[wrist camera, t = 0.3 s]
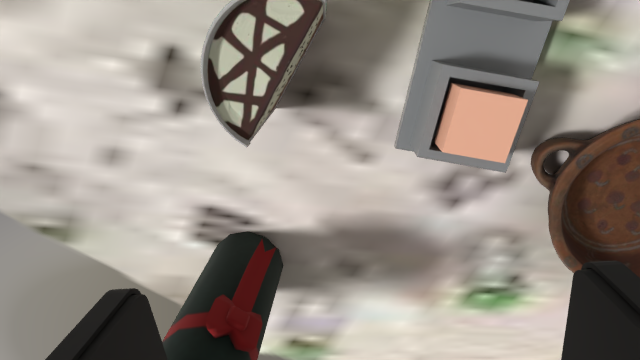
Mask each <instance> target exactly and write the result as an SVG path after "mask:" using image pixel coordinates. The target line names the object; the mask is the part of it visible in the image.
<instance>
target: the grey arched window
mask: <svg viewBox="0 0 640 360" xmlns="http://www.w3.org/2000/svg"><path fill="white" fill-rule="evenodd" d="M326 1H327V0H231V1H230V2H229V3H228V4H227V5H226V6H225V7H224V8H223V9H222V10H221V11H220V13H219V14H218V15H217V17H216V18H215V19H214V21H213V23H212V25H211V27H210V28H209V30H208V33H207V36H206V39H205V41H204V45H203V50H202V56H201V77H202V85H203V89H204V92H205V96H206V99H207V101H208V104H209V106H210V108H211V110H212V112H213V114H214V115H215V117H216V118H217V120H218V122H219V123H220V124H221V125H222V126H223V128H224V129H225V130H226V131H227V132H228V133H229V134H230V135H231V136H232V137H233V138H235V139H236V140H237V141H238V142H240V143H241V144H243V145H244V146H246V147H248V146H249V145H250V141H251V140H252V139H253V138H254V136H255V135H256V134H257V132H258V131H259V130H260V128H261V127H262V126H263V124H264V123H265V122H266V120H267V119H268V118H269V116H270V115H271V114H272V113H273V111H274V110H275V109H276V107H277V105H278V103H279V101H280V100H281V98H282V96H283V94H284V92H285V90H286V89H287V87H288V85H289V83H290V81H291V79H292V78H293V76H294V74H295V72H296V70H297V69H298V67H299V65H300V63H301V61H302V59H303V58H304V56H305V54H306V52H307V50H308V48H309V47H310V45H311V43H312V41H313V39H314V38H315V36H316V34H317V32H318V30H319V28H320V27H321V25H322V23H323V21H324V19H325V17H326Z"/></svg>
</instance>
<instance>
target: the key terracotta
mask: <svg viewBox="0 0 640 360" xmlns="http://www.w3.org/2000/svg"><path fill="white" fill-rule="evenodd" d="M527 102H528V100H527V99H524V98H522V97H519V96H517V95H514V94H512V93H506V92H501V91H495V90H490V89H484V88H478V87H473V86H467V85H461V84H456V83H451V84H450V88H449V91H448V95H447V98H446V102H445V105H444V109H443V112H442V116H441V119H440V123H439V126H438V130H437V133H436V137H435V140H434V142H435V143H436V145H437V146H438V147H439V149H440V150H441V151H442V152H444V153H450V154H455V155H461V156H467V157H472V158H478V159H484V160H489V161H495V162H500V163H505V162H506V159H507V156H508V154H509V151H510V148H511V146H512V143H513V140H514V137H515V135H516V132H517V129H518V126H519V124H520V121H521V118H522V116H523V113H524V110H525V107H526V105H527Z"/></svg>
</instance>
